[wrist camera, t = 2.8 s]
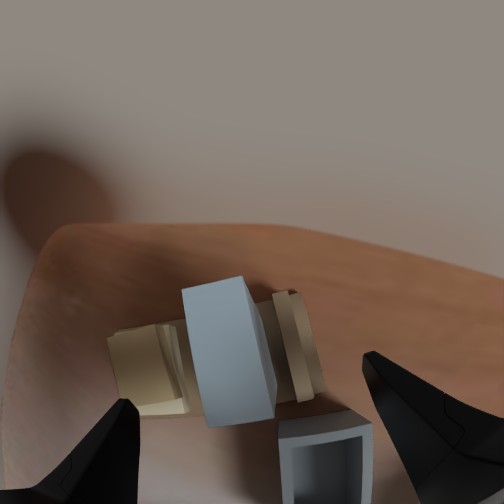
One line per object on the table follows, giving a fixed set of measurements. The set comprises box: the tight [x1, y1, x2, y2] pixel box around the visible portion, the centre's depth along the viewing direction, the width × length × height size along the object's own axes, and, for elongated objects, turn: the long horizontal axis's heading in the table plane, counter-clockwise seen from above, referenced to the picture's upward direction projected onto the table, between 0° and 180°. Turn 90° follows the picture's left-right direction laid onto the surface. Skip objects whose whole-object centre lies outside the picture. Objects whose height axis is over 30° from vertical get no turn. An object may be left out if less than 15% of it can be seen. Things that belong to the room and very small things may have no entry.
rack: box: [107, 290, 326, 419], centre depth 16 cm, size 7×14×3 cm, turn 102°
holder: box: [278, 409, 373, 504], centre depth 11 cm, size 9×5×5 cm, turn 4°
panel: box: [182, 276, 277, 428], centre depth 12 cm, size 4×2×10 cm, turn 12°
